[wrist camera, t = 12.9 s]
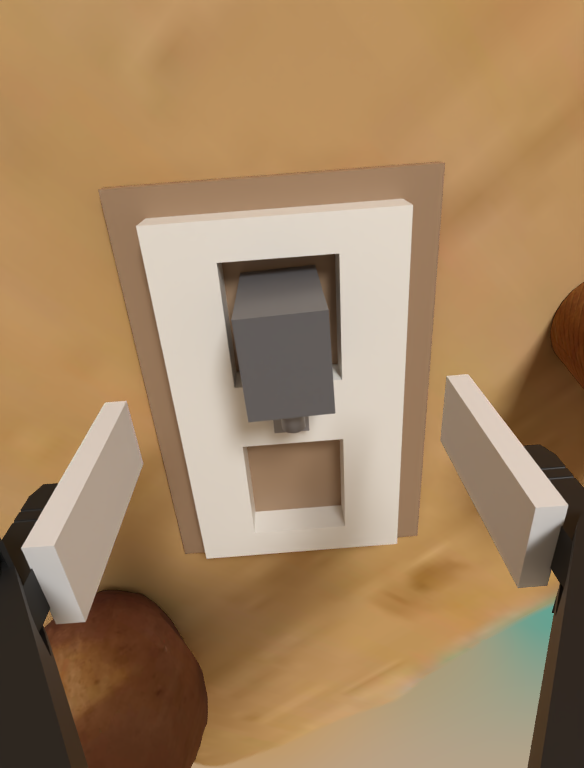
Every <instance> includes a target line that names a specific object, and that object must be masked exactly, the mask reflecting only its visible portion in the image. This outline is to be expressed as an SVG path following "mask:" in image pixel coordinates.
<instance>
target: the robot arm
mask: <svg viewBox="0 0 584 768" xmlns="http://www.w3.org/2000/svg"><path fill="white" fill-rule="evenodd" d="M441 442H442V444H443V446H444V448H445V450H446V452H447V454H448V456H449V458H450V460H451V461H452V463H453V465H454V467H455V469H456V471H457V473H458V475H459V477H460V479H461V480H462V482H463V484H464V486H465V488H466V490H467V492H468V494H469V496H470V498H471V500H472V501H473V503H474V505H475V507H476V509H477V511H478V513H479V515H480V517H481V519H482V521H483V522H484V524H485V526H486V528H487V530H488V532H489V534H490V536H491V538H492V540H493V541H494V543H495V545H496V547H497V549H498V551H499V553H500V555H501V557H502V559H503V561H504V562H505V564H506V566H507V568H508V570H509V572H510V574H511V576H512V578H513V580H514V582H515V583H516V585H517V587H518V588H523V587H536V586H547V584H548V581H549V577H550V573H551V569H552V571H553V573H554V574H555V576H556V577H557V579H558V581H559V582H560V585H559V589H558V593H557V596H556V600H555V603H554V607H553V610H552V613H554V616H553V622H552V628H551V633H550V639H549V645H548V651H547V657H546V663H545V669H544V674H543V681H542V686H541V692H540V699H539V704H538V710H537V715H536V721H535V727H534V733H533V740H532V745H531V751H530V756H529V762H528V768H584V488H583V486H582V485H581V484H580V483H579V482H578V481H577V479H576V478H574V477H573V475H572V473H571V472H570V471H569V470H568V469H566V468H565V465H564V464H563V463H562V462H561V460H560V459H559V458H558V457H557V456H556V454H554V453H553V452H551V451H549V450H548V449H546V448H545V447H543V446H541V445H527V446H523V445H522V444H521V443H520V441H519V440H518V439H517V437H516V436H515V435H514V433H513V432H512V431H511V430H510V428H509V427H508V426H507V424H506V423H505V422H504V420H503V419H502V418H501V416H500V415H499V414H498V413H497V411H496V410H495V409H494V407H493V406H492V405H491V403H490V402H489V401H488V399H487V398H486V397H485V396H484V394H483V393H482V392H481V390H480V389H479V388H478V386H477V385H476V384H475V383H474V381H473V380H472V379H471V377H470V376H469V375H468V374H466V375H453V376H446V387H445V398H444V408H443V419H442V430H441ZM142 466H143V461H142V457H141V453H140V449H139V446H138V442H137V438H136V434H135V431H134V427H133V423H132V419H131V415H130V412H129V408H128V404H127V401H120V402H107V403H104V405H103V407H102V408H101V410H100V412H99V414H98V415H97V417H96V419H95V421H94V422H93V424H92V426H91V428H90V429H89V431H88V433H87V435H86V436H85V438H84V440H83V442H82V443H81V445H80V447H79V448H78V450H77V452H76V454H75V455H74V457H73V459H72V461H71V462H70V464H69V466H68V468H67V469H66V471H65V473H64V475H63V476H62V478H61V480H60V481H59V483H55V484H43V485H42V486H41V487H40V488H39V489H38V490H36V491H35V492H34V493H33V494H32V495H31V496H29V498H28V499H27V501H26V503H25V504H24V506H23V507H22V509H21V512H19V514H18V515H17V517H16V518H15V520H14V523H12V525H11V526H10V528H9V529H8V531H7V533H6V534H5V536H4V537H3V539H2V540H1V538H0V768H88V765H87V761H86V758H85V755H84V752H83V748H82V745H81V742H80V739H79V736H78V732H77V729H76V726H75V723H74V719H73V716H72V713H71V710H70V706H69V703H68V700H67V697H66V694H65V690H64V687H63V684H62V681H61V677H60V674H59V671H58V668H57V665H56V661H55V658H54V655H53V652H52V648H51V645H50V642H49V639H48V636H47V633H46V631H45V628H44V626H43V623H44V621H45V619H46V616H47V614H48V612H49V610H50V612H51V614H52V616H53V619H54V621H55V623H56V624H66V623H79V622H86V619H87V617H88V614H89V611H90V608H91V606H92V603H93V600H94V598H95V595H96V592H97V589H98V587H99V584H100V581H101V578H102V576H103V573H104V570H105V567H106V565H107V562H108V559H109V556H110V554H111V551H112V548H113V545H114V543H115V540H116V537H117V534H118V532H119V529H120V526H121V523H122V521H123V518H124V515H125V512H126V510H127V507H128V504H129V501H130V499H131V496H132V493H133V490H134V488H135V485H136V482H137V480H138V477H139V474H140V471H141V469H142Z"/></svg>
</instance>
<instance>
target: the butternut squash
mask: <svg viewBox="0 0 584 768" xmlns="http://www.w3.org/2000/svg"><path fill="white" fill-rule="evenodd" d="M45 631H46V633H47V636H48V639H49V642H50V645H51V648H52V652H53V655H54V658H55V661H56V665H57V668H58V671H59V674H60V677H61V681H62V684H63V687H64V690H65V694H66V697H67V700H68V703H69V706H70V710H71V713H72V716H73V719H74V723H75V726H76V729H77V732H78V736H79V739H80V742H81V745H82V748H83V752H84V755H85V758H86V761H87V765H88V768H191V766H192V764H193V762H194V761H195V759H196V756H197V752H198V750H199V747H200V744H201V740H202V735H203V732H204V729H205V726H206V724H207V715H208V698H207V692H206V687H205V682H204V677H203V673H202V670H201V668H200V666H199V664H198V662H197V660H196V659H195V657H194V656H193V654H192V653H191V651H190V650H189V648H188V647H187V646H186V644H185V643H184V641H183V639H182V637H181V636H180V634H179V632H178V631H177V629H176V627H175V626H174V624H173V622H172V621H171V620H170V619H169V617H168V616H167V615H166V614H165V613H164V612H163V611H162V610H161V609H160V608H159V607H158V606H157V605H156V604H155V603H154V602H152V601H151V600H149V599H148V598H147V597H145V596H144V595H142V594H140V593H136V594H135V593H131V592H126V591H119V590H105V591H101V592H98V593H96V595H95V598H94V600H93V603H92V606H91V608H90V611H89V614H88V617H87V619H86V622H79V623H66V624H56V623H55V621H54V619H53V620H52V621H51V622H50V623H49V624H48V625H47V626H46V627H45Z"/></svg>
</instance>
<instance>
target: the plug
mask: <svg viewBox="0 0 584 768" xmlns="http://www.w3.org/2000/svg"><path fill="white" fill-rule="evenodd" d="M231 322H232V328H233V334H234V340H235V346H236V351H237V357H238V363H239V369H240V375H241V381H242V387H243V393H244V399H245V405H246V411H247V417H248V422H258V421H267V420H277V419H281V423H282V429H283V431H285V432H287V433H298V432H301V431H302V430H304V428H305V426H306V425H305V417H306V416H316V415H325V414H335V399H334V384H333V368H332V353H331V338H330V323H329V309H328V306H327V303H326V299H325V296H324V293H323V289H322V286H321V283H320V279H319V276H318V273H317V269H316V266H315V265H306V266H297V267H288V268H278V269H269V270H260V271H251V272H241V273H240V277H239V283H238V288H237V293H236V298H235V304H234V309H233V314H232V319H231Z"/></svg>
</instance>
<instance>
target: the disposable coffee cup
mask: <svg viewBox="0 0 584 768" xmlns="http://www.w3.org/2000/svg"><path fill="white" fill-rule="evenodd" d="M550 337H551V342H552V347H553V350H554V352H555V354H556V355H557V356H558V357H559V359H560V360H561V361H562V362H563V363H564V365H565V366H566V367H567V369H568V370H569V371H570V373H571V374H572V375H573V376H574V378H575V379H576V380H577V381H578V383H579V384H580V385H581V386H582V388H583V389H584V282H583V283H582V284H581V285H579V286H578V287H577V288H576V289H574V290H573V291H572V292H571V293H570V294H569V295H568V297H567V298H566V299H565V300H564V301H563V302H562V304H561V306H560V307H559V309H558V310H557V312H556V314H555V316H554V319H553V323H552V327H551V334H550Z"/></svg>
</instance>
